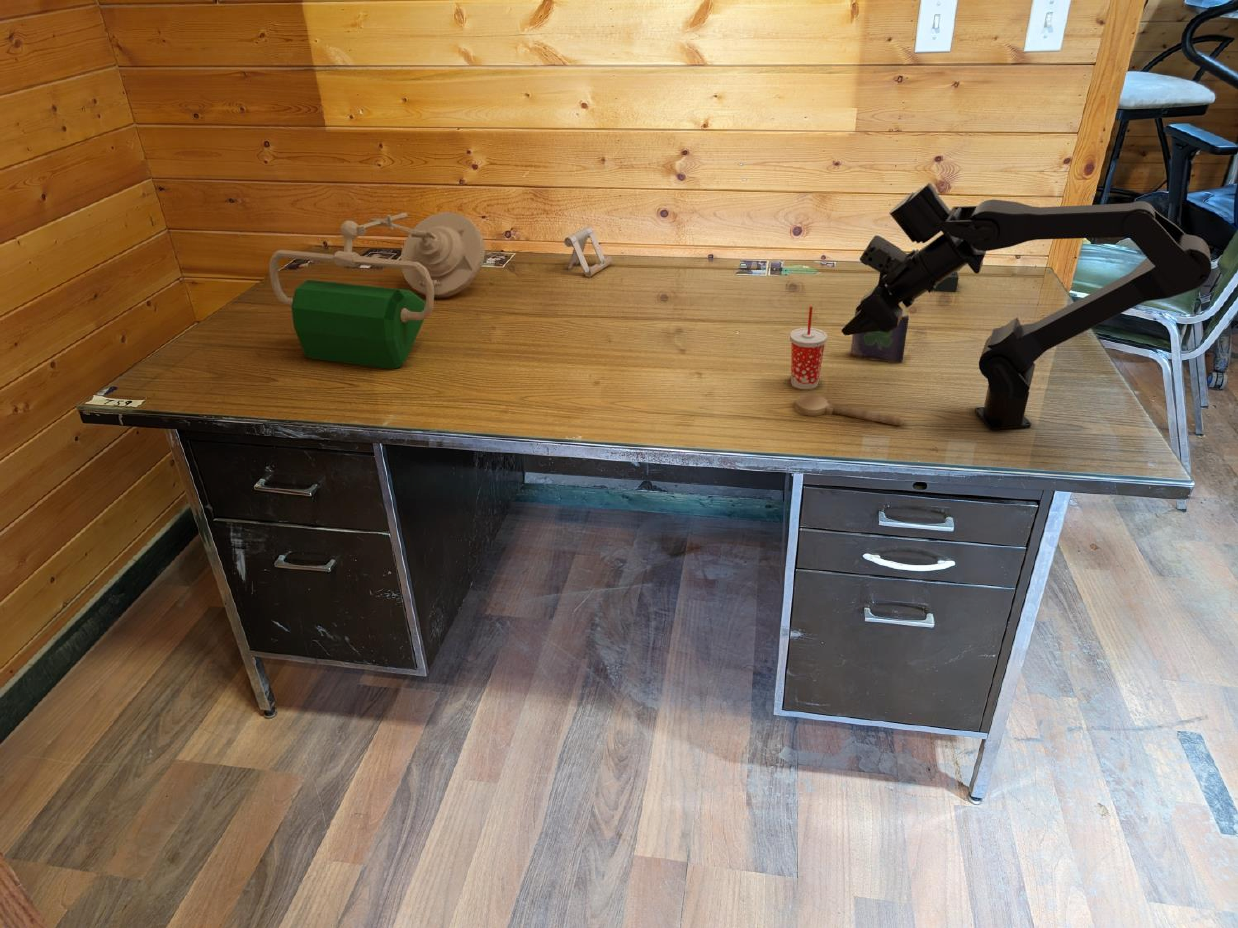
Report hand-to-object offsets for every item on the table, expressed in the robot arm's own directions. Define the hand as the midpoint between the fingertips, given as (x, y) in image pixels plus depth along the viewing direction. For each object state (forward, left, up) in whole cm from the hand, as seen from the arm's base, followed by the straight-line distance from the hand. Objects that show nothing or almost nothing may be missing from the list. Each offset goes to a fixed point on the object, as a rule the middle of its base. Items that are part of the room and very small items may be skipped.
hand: (850, 321), depth 145 cm
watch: (+41, -34, -13) cm, 55 cm away
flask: (+11, -10, -13) cm, 19 cm away
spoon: (-8, +2, -12) cm, 15 cm away
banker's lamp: (+46, +77, -13) cm, 90 cm away
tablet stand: (+66, +39, -13) cm, 77 cm away
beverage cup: (+4, +6, -13) cm, 14 cm away
